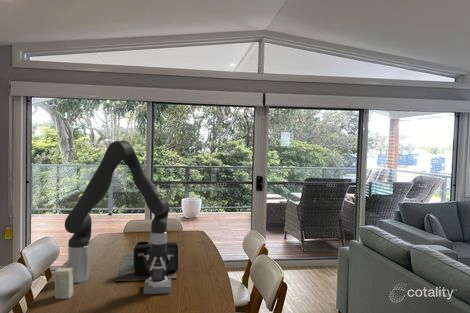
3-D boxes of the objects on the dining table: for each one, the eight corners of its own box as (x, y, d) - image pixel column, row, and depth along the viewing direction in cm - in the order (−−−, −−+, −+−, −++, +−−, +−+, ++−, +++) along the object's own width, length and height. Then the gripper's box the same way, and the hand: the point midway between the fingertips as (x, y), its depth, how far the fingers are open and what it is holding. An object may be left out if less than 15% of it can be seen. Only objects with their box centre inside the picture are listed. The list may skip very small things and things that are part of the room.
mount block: (143, 294, 157) (143, 283, 157) (145, 285, 166) (145, 275, 165) (170, 293, 159) (170, 282, 158) (171, 284, 168) (171, 274, 167)
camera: (133, 279, 173) (134, 249, 172) (133, 271, 182) (134, 243, 181) (179, 275, 179) (179, 247, 178) (177, 268, 188) (177, 241, 187)
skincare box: (73, 294, 154) (73, 267, 154) (69, 299, 150) (69, 271, 149) (58, 294, 154) (59, 267, 153) (54, 298, 150) (54, 271, 149)
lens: (151, 283, 159) (152, 266, 159) (152, 278, 164) (153, 262, 164) (162, 283, 160) (163, 266, 159) (163, 278, 165) (163, 262, 164)
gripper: (141, 244, 156) (141, 280, 157) (174, 243, 158) (173, 280, 159) (143, 239, 163) (143, 274, 164) (174, 238, 166) (173, 273, 167)
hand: (157, 276), depth 162 cm, fingers closed on lens, 4 cm apart
